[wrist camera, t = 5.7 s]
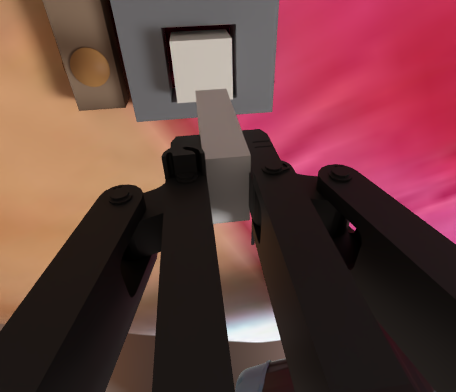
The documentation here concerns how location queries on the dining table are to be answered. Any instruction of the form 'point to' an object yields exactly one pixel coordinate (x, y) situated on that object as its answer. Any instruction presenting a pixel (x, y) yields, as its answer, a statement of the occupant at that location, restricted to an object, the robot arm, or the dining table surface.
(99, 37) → the pattern sign
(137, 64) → the button panel
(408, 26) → the dining table surface
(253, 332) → the dining table surface
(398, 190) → the dining table surface
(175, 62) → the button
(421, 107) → the dining table surface
